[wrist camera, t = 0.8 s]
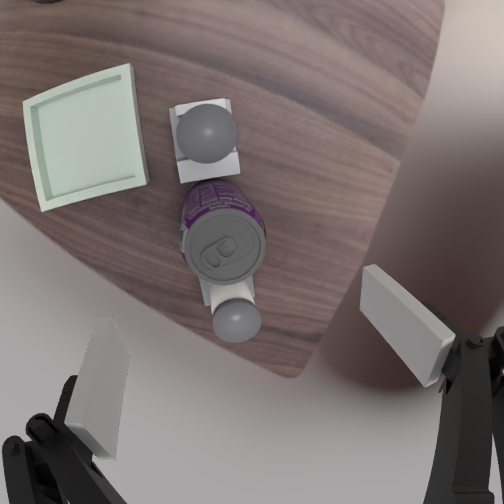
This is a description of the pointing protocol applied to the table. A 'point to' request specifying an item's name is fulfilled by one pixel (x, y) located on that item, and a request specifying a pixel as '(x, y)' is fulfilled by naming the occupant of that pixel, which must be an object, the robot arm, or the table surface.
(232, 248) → the beverage can
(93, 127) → the tray
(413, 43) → the table surface
